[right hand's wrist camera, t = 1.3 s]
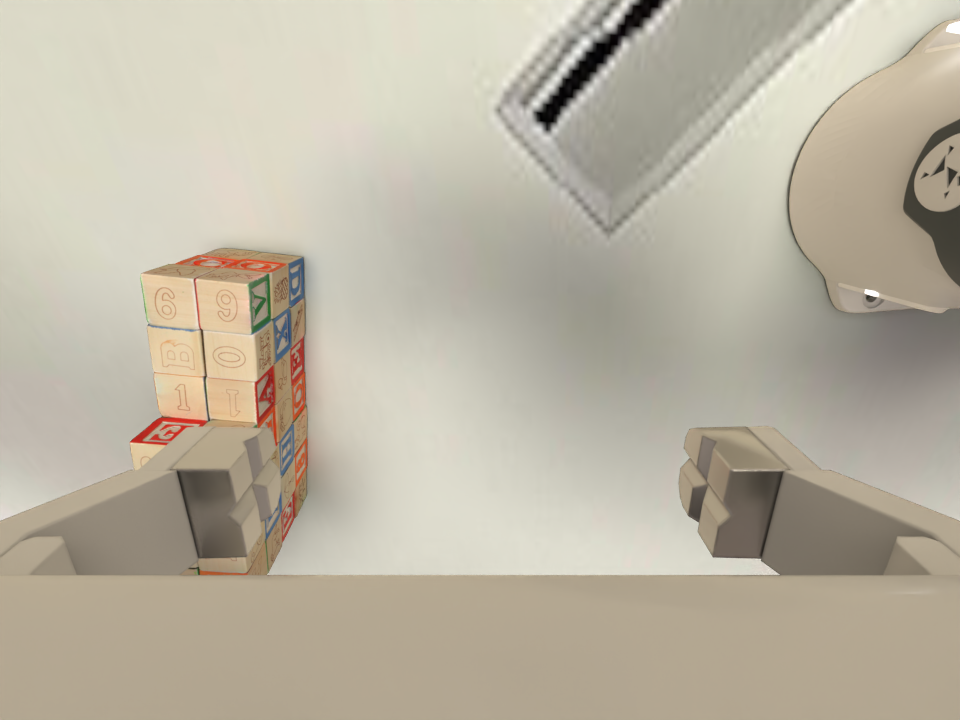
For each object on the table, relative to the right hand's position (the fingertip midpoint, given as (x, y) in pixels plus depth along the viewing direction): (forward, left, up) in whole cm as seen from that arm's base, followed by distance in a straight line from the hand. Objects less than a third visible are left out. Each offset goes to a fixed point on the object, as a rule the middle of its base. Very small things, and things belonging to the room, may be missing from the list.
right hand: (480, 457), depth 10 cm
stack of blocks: (+16, +13, -29) cm, 35 cm away
